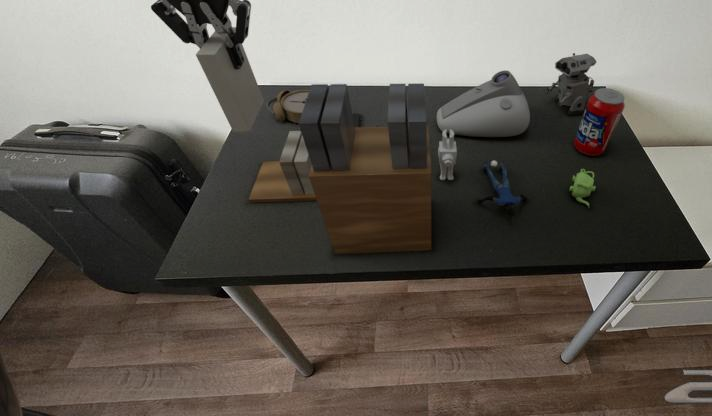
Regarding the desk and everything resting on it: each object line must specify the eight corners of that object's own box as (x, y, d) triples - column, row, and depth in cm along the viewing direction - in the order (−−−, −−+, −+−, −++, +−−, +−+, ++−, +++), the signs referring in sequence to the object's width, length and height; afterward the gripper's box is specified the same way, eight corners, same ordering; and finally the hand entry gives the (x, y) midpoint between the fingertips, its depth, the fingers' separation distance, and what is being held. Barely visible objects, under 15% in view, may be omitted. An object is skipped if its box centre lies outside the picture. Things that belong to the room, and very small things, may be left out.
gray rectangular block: (249, 132, 65) (215, 54, 54) (233, 132, 64) (195, 54, 54) (264, 101, 71) (235, 26, 61) (249, 101, 71) (218, 26, 61)
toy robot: (453, 164, 87) (456, 121, 78) (455, 186, 82) (458, 144, 73) (437, 164, 87) (438, 121, 78) (438, 187, 81) (439, 144, 73)
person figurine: (469, 176, 87) (483, 227, 73) (470, 159, 84) (485, 210, 70) (514, 173, 88) (536, 224, 74) (517, 157, 85) (540, 206, 71)
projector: (472, 92, 109) (477, 43, 98) (542, 120, 100) (555, 70, 89) (426, 127, 96) (425, 75, 85) (501, 162, 88) (511, 109, 77)
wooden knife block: (431, 250, 70) (431, 125, 49) (335, 254, 68) (291, 128, 47) (428, 204, 78) (427, 79, 57) (342, 207, 76) (308, 80, 55)
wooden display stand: (318, 200, 77) (306, 164, 70) (249, 202, 76) (230, 166, 69) (326, 163, 85) (316, 127, 78) (264, 164, 84) (248, 128, 77)
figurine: (537, 101, 107) (549, 50, 96) (573, 97, 109) (589, 47, 98) (550, 119, 101) (565, 67, 90) (588, 114, 103) (606, 63, 92)
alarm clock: (323, 114, 93) (260, 106, 90) (324, 130, 97) (263, 123, 94) (329, 91, 101) (270, 83, 98) (329, 106, 104) (272, 99, 101)
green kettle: (588, 208, 79) (597, 189, 74) (564, 200, 80) (571, 181, 76) (593, 190, 83) (601, 171, 78) (569, 183, 84) (576, 164, 80)
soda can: (610, 154, 91) (635, 101, 80) (585, 161, 89) (606, 107, 78) (591, 136, 96) (612, 83, 85) (566, 142, 94) (584, 89, 83)
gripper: (101, -53, 45) (174, 78, 58) (220, -50, 46) (266, 78, 59) (131, -67, 50) (192, 56, 63) (238, -65, 51) (277, 56, 64)
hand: (228, 66), depth 61 cm, fingers closed on gray rectangular block, 3 cm apart
